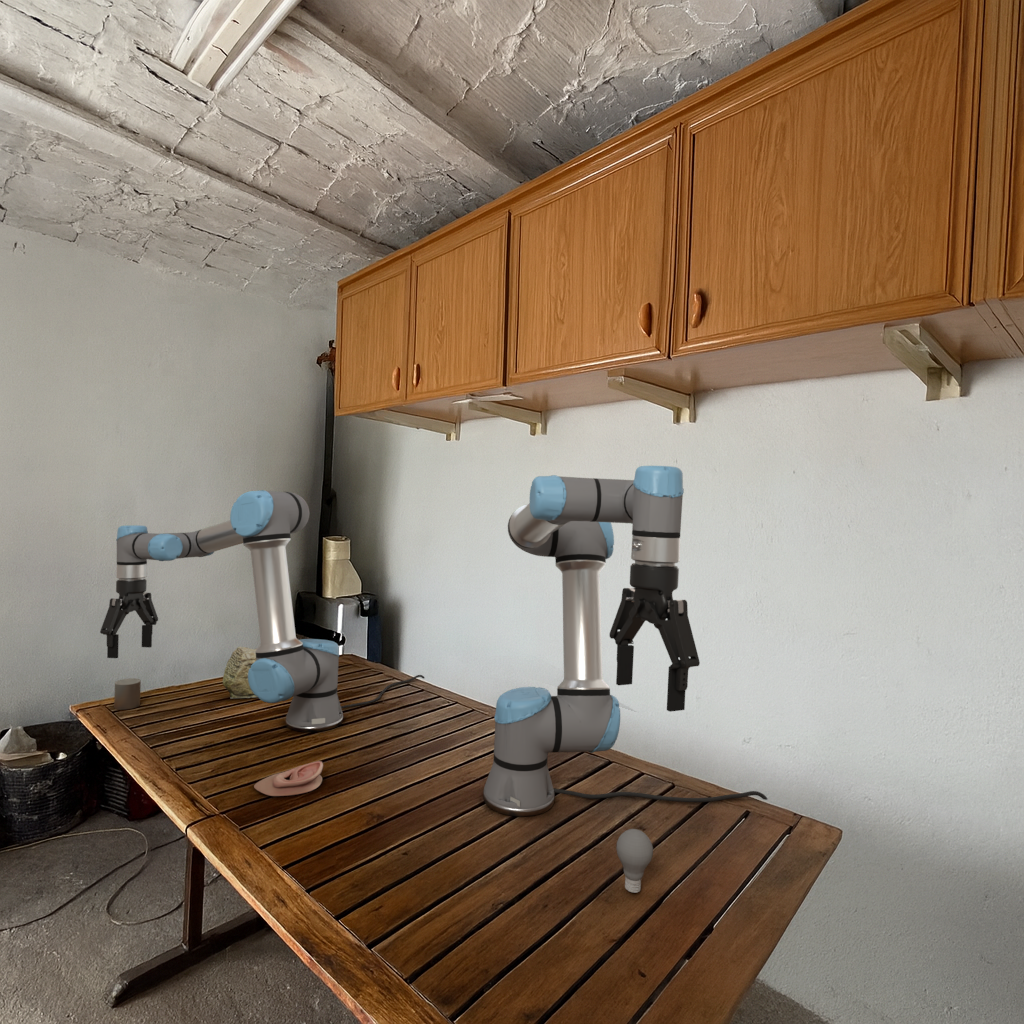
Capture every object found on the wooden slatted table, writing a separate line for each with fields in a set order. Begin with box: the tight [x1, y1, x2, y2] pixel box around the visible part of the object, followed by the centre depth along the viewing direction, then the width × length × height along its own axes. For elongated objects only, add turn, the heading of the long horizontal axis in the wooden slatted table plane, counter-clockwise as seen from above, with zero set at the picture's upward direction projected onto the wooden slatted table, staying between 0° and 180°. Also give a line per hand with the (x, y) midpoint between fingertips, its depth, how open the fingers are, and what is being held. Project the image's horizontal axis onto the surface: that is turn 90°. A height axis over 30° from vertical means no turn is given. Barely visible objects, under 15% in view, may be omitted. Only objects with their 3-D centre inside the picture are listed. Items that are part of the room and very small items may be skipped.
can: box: [113, 677, 142, 711], centre depth 183 cm, size 6×6×7 cm
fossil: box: [222, 646, 258, 699], centre depth 198 cm, size 9×18×15 cm, turn 132°
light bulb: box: [615, 828, 654, 894], centre depth 106 cm, size 6×6×10 cm
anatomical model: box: [253, 760, 324, 797], centre depth 138 cm, size 13×4×12 cm
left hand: (130, 652), depth 183 cm, fingers open, 13 cm apart
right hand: (648, 696), depth 101 cm, fingers open, 13 cm apart
